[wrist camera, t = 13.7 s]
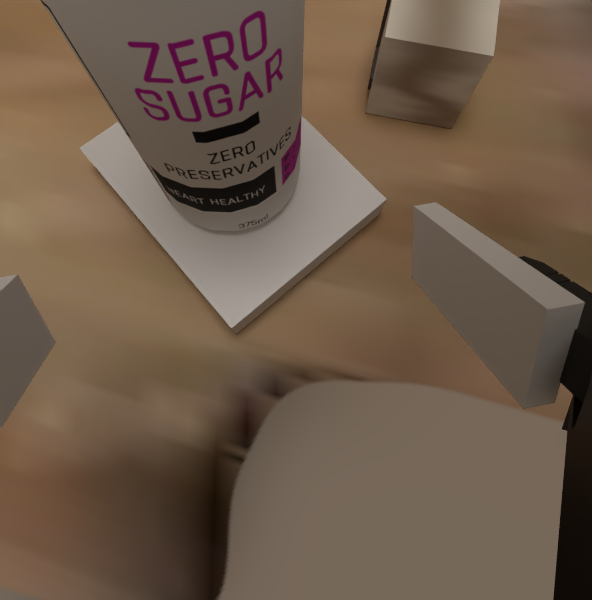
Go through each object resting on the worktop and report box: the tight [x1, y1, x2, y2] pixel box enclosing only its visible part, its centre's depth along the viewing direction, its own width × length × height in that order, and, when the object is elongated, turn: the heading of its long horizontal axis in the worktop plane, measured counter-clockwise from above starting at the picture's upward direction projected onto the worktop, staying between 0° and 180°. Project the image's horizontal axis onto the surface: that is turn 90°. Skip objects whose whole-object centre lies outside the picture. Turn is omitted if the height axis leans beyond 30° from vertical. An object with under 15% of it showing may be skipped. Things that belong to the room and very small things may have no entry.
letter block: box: [366, 0, 500, 129], centre depth 25 cm, size 6×6×6 cm
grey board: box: [80, 115, 387, 334], centre depth 25 cm, size 15×12×2 cm
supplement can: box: [41, 0, 305, 231], centre depth 17 cm, size 8×8×15 cm
